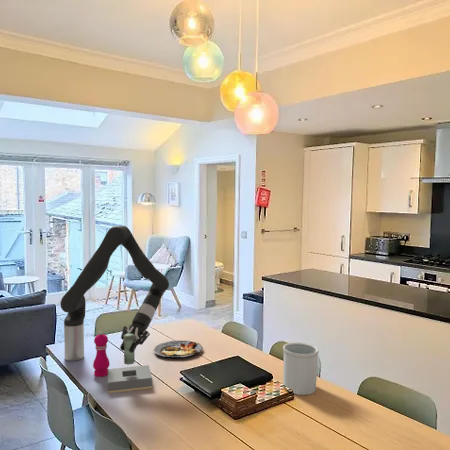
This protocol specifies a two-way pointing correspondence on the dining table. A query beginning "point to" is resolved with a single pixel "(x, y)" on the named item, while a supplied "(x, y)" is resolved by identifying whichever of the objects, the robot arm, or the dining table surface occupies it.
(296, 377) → the utensil holder
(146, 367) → the pin block
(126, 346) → the sage pin
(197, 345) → the food plate
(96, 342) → the pepper mill
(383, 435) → the dining table surface
